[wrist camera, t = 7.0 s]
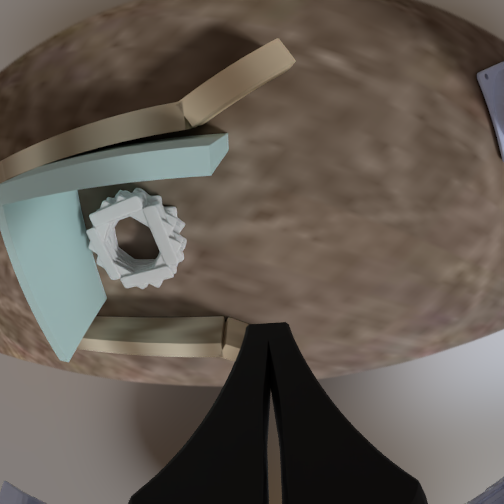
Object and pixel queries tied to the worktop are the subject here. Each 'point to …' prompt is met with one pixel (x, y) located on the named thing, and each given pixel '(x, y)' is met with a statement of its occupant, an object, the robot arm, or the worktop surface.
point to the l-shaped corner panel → (95, 228)
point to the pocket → (147, 124)
